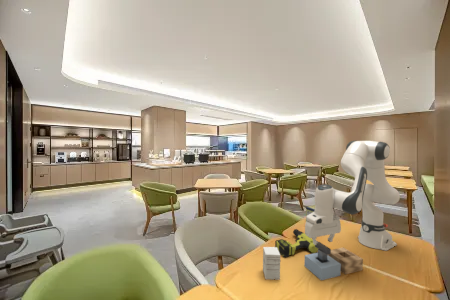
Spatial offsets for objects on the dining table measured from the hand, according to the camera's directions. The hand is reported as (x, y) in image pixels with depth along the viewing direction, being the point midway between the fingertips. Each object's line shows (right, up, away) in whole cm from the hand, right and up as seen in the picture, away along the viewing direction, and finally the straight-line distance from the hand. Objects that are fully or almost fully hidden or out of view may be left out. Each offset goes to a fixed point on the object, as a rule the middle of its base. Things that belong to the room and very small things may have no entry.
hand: (322, 242), depth 108 cm
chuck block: (0, -15, +1) cm, 15 cm away
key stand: (+14, -15, +5) cm, 21 cm away
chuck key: (0, -15, +1) cm, 15 cm away
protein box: (+22, -12, +55) cm, 61 cm away
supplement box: (-27, -15, -3) cm, 31 cm away
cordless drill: (-8, -14, +26) cm, 31 cm away
